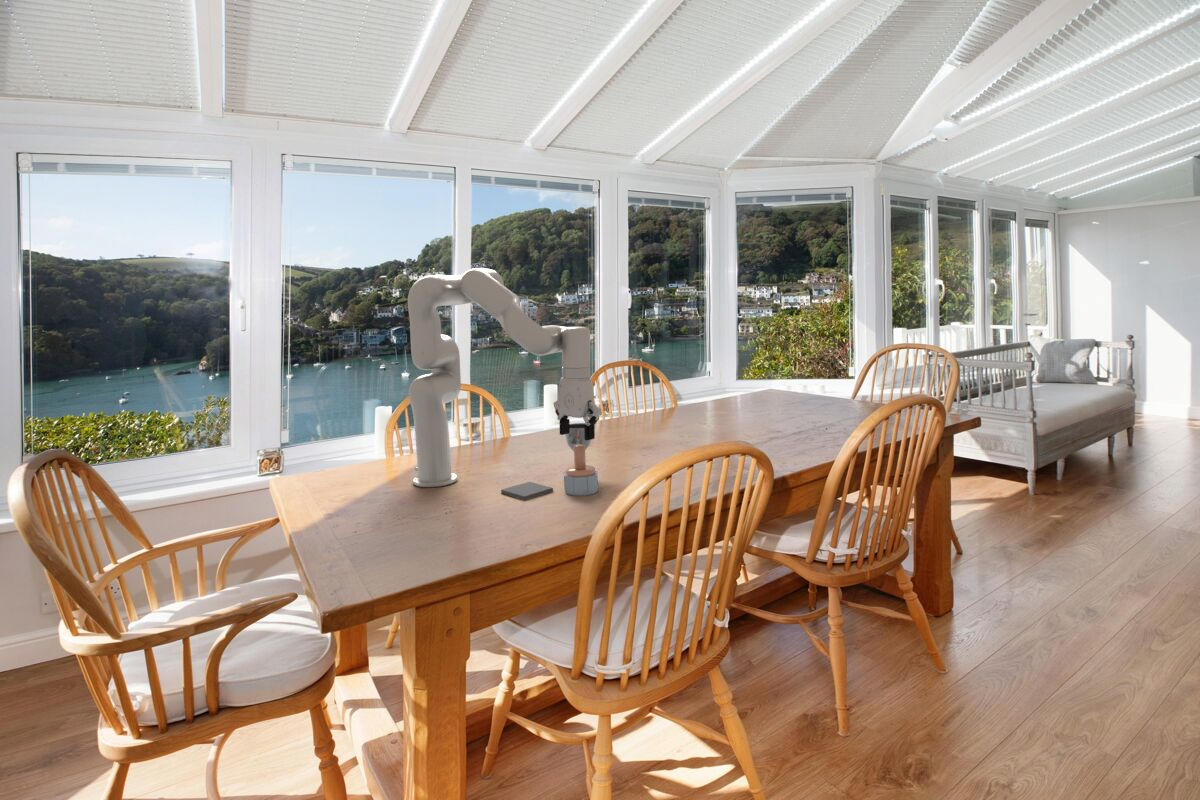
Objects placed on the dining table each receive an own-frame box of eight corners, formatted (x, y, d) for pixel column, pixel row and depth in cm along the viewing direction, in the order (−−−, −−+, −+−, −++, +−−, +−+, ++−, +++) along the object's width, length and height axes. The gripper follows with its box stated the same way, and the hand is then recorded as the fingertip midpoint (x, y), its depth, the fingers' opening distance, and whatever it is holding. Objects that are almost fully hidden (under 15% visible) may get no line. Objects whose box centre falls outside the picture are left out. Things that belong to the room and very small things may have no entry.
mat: (501, 493, 186) (501, 489, 186) (529, 485, 193) (529, 481, 193) (524, 500, 179) (524, 496, 179) (553, 491, 186) (552, 487, 186)
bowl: (558, 491, 185) (557, 474, 185) (581, 484, 192) (581, 467, 191) (581, 498, 179) (580, 479, 178) (604, 490, 185) (604, 472, 185)
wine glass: (590, 479, 197) (588, 428, 195) (563, 478, 198) (561, 428, 196) (596, 472, 205) (594, 423, 202) (570, 471, 206) (568, 423, 204)
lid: (559, 474, 185) (558, 446, 184) (580, 467, 190) (579, 441, 189) (580, 478, 179) (578, 450, 178) (601, 472, 185) (600, 444, 184)
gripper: (544, 372, 184) (545, 434, 187) (589, 377, 172) (589, 444, 175) (564, 369, 189) (565, 430, 192) (609, 375, 177) (609, 439, 180)
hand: (576, 436), depth 183 cm, fingers open, 9 cm apart
